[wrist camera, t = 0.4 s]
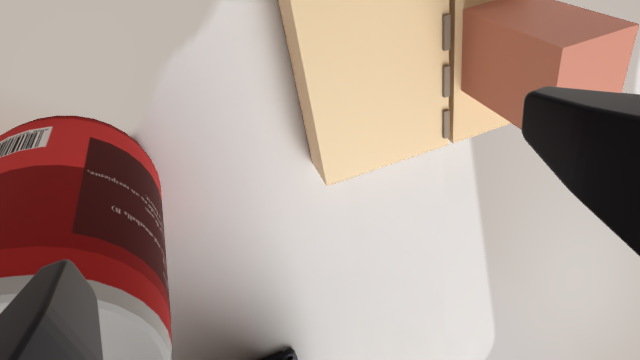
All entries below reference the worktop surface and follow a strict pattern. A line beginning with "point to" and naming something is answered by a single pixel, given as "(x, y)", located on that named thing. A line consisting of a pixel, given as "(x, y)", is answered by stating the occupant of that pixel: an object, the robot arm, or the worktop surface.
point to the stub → (527, 57)
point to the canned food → (88, 225)
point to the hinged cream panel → (369, 80)
